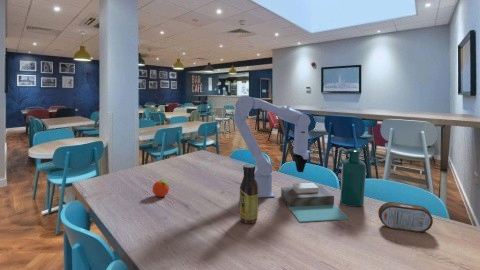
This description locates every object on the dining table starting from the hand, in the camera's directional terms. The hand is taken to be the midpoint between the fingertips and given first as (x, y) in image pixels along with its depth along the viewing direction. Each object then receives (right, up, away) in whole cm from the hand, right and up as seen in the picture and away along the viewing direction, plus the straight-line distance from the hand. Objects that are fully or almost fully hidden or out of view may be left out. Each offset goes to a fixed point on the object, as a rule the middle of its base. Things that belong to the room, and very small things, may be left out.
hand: (300, 171), depth 117 cm
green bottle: (+18, -11, -8) cm, 23 cm away
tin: (+27, -15, -30) cm, 43 cm away
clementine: (-60, -11, -1) cm, 61 cm away
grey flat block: (+1, -11, -7) cm, 13 cm away
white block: (+1, -7, -6) cm, 9 cm away
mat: (+2, -13, -19) cm, 23 cm away
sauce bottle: (-23, -14, -24) cm, 36 cm away
